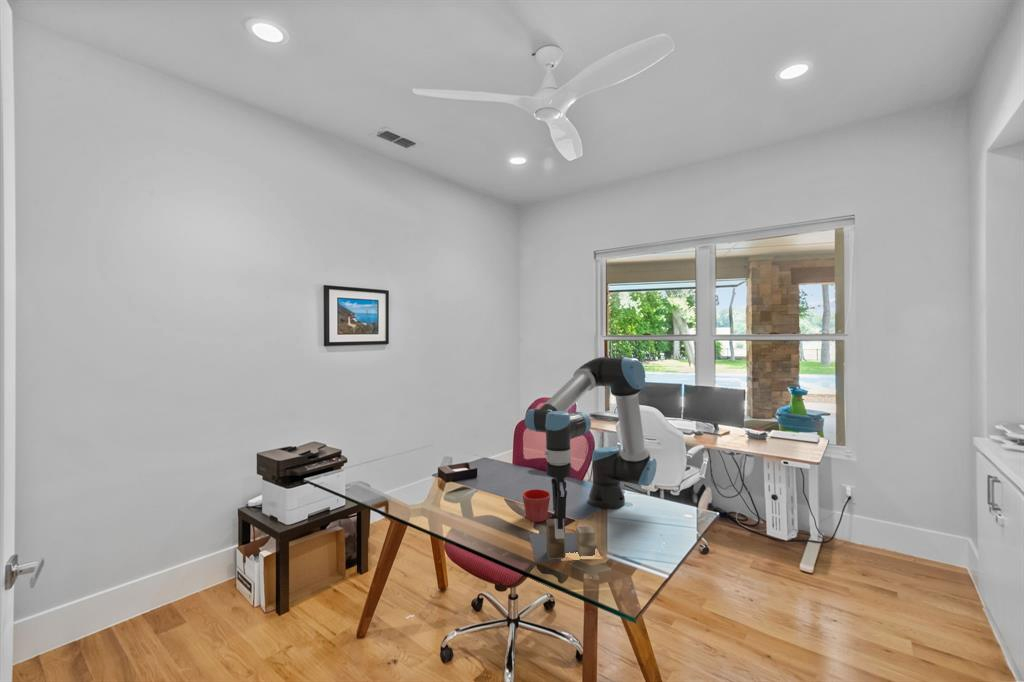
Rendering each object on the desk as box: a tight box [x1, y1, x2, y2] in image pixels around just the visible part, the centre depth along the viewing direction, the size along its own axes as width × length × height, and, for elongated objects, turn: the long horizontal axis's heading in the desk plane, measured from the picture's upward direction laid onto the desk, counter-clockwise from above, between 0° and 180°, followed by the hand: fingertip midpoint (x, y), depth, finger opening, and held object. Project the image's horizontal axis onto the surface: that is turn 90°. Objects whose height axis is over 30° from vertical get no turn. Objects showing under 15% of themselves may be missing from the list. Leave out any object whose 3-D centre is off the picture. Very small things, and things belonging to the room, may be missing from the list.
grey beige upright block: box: [575, 525, 596, 557], centre depth 150 cm, size 5×5×8 cm
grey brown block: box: [545, 518, 565, 560], centre depth 149 cm, size 5×5×11 cm
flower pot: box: [522, 489, 551, 523], centre depth 180 cm, size 11×11×10 cm
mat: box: [528, 531, 599, 564], centre depth 156 cm, size 22×20×1 cm
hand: (559, 537), depth 141 cm, fingers closed
